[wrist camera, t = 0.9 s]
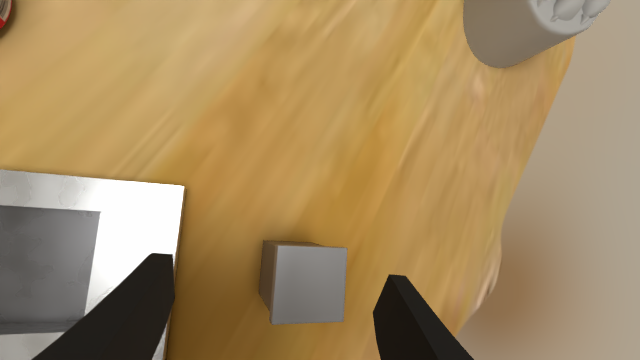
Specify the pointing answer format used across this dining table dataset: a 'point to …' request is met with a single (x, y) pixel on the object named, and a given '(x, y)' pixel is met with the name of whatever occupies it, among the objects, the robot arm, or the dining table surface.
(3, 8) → the soda can
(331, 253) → the plug
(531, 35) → the lumpy-topped squat cylinder
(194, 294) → the dining table surface
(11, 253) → the socket
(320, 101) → the dining table surface
